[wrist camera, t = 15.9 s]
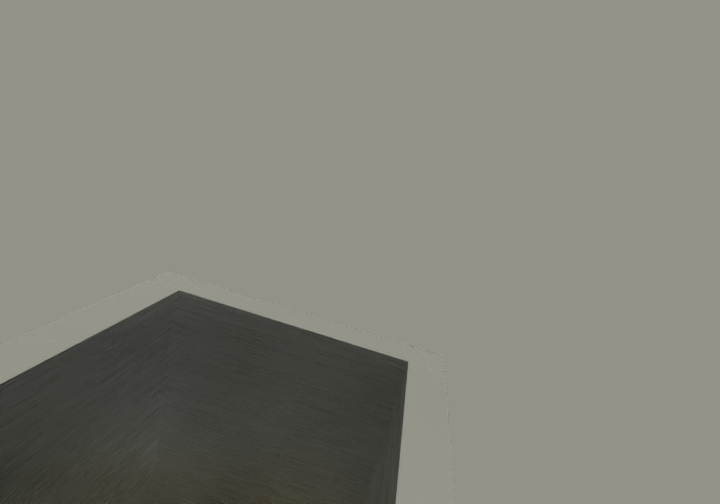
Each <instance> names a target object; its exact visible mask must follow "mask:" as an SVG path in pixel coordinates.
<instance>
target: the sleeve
mask: <svg viewBox="0 0 720 504" xmlns="http://www.w3.org/2000/svg"><path fill="white" fill-rule="evenodd" d="M0 504H456V498H455V487H454V475H453V463H452V453H451V440H450V429H449V417H448V406H447V394H446V382H445V371H444V359H443V355H440V354H437V353H434V352H430V351H427V350H424V349H421V348H418V347H414V346H411V345H408V344H404V343H401V342H398V341H394V340H392V339H388V338H385V337H382V336H378V335H375V334H372V333H369V332H365V331H362V330H359V329H356V328H352V327H349V326H346V325H343V324H339V323H336V322H333V321H330V320H326V319H323V318H320V317H317V316H313V315H310V314H307V313H304V312H300V311H297V310H294V309H291V308H287V307H284V306H281V305H278V304H274V303H271V302H268V301H265V300H261V299H258V298H255V297H252V296H248V295H245V294H242V293H238V292H235V291H232V290H229V289H226V288H222V287H219V286H216V285H213V284H209V283H206V282H203V281H200V280H196V279H193V278H190V277H186V276H183V275H180V274H177V273H174V272H170V271H168V272H166V273H163V274H161V275H159V276H156V277H154V278H152V279H149V280H147V281H145V282H142V283H140V284H138V285H136V286H133V287H131V288H128V289H126V290H124V291H121V292H119V293H117V294H114V295H112V296H110V297H107V298H105V299H103V300H101V301H98V302H96V303H94V304H91V305H89V306H87V307H84V308H82V309H80V310H77V311H75V312H73V313H71V314H68V315H66V316H63V317H61V318H59V319H56V320H54V321H52V322H49V323H47V324H45V325H43V326H40V327H38V328H36V329H33V330H31V331H29V332H26V333H24V334H22V335H19V336H17V337H15V338H12V339H10V340H7V341H5V342H3V343H0Z"/></svg>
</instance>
